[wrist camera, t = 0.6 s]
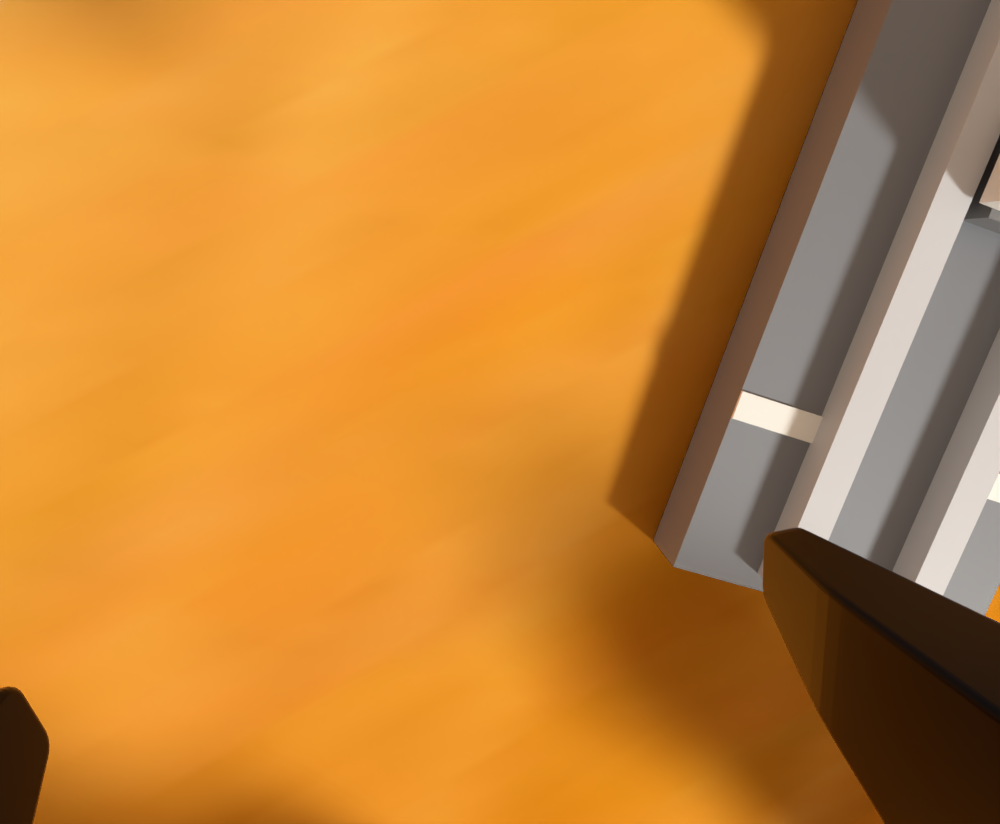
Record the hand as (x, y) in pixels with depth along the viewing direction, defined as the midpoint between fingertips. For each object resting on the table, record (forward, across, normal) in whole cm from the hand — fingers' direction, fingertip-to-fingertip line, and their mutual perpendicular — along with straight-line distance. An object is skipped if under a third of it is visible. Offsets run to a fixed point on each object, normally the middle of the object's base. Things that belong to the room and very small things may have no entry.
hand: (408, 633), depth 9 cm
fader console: (+13, -15, +3) cm, 20 cm away
